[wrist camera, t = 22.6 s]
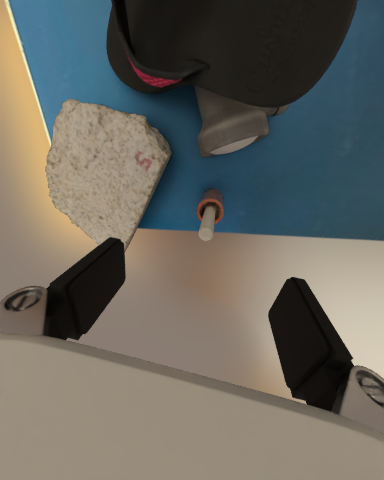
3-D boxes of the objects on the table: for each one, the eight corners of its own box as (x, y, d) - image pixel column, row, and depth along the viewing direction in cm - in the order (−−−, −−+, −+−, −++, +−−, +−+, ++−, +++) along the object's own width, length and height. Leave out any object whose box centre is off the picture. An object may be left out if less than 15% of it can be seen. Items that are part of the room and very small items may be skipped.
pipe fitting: (202, 164, 26) (273, 142, 24) (201, 156, 18) (306, 123, 16) (178, 65, 22) (260, 32, 21) (165, 3, 14) (294, -56, 13)
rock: (131, 237, 37) (112, 271, 29) (47, 178, 30) (-9, 200, 22) (201, 165, 28) (202, 185, 20) (105, 59, 21) (48, 24, 13)
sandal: (122, -26, 19) (61, -61, 15) (443, -157, 7) (493, -462, 3) (129, 88, 25) (86, 81, 21) (305, 128, 13) (272, 125, 9)
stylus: (208, 195, 28) (199, 226, 16) (217, 197, 28) (214, 229, 16) (207, 204, 28) (197, 239, 17) (215, 205, 28) (211, 242, 17)
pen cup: (204, 186, 28) (198, 196, 21) (225, 190, 27) (226, 201, 21) (200, 207, 29) (194, 221, 23) (220, 211, 29) (220, 227, 23)
